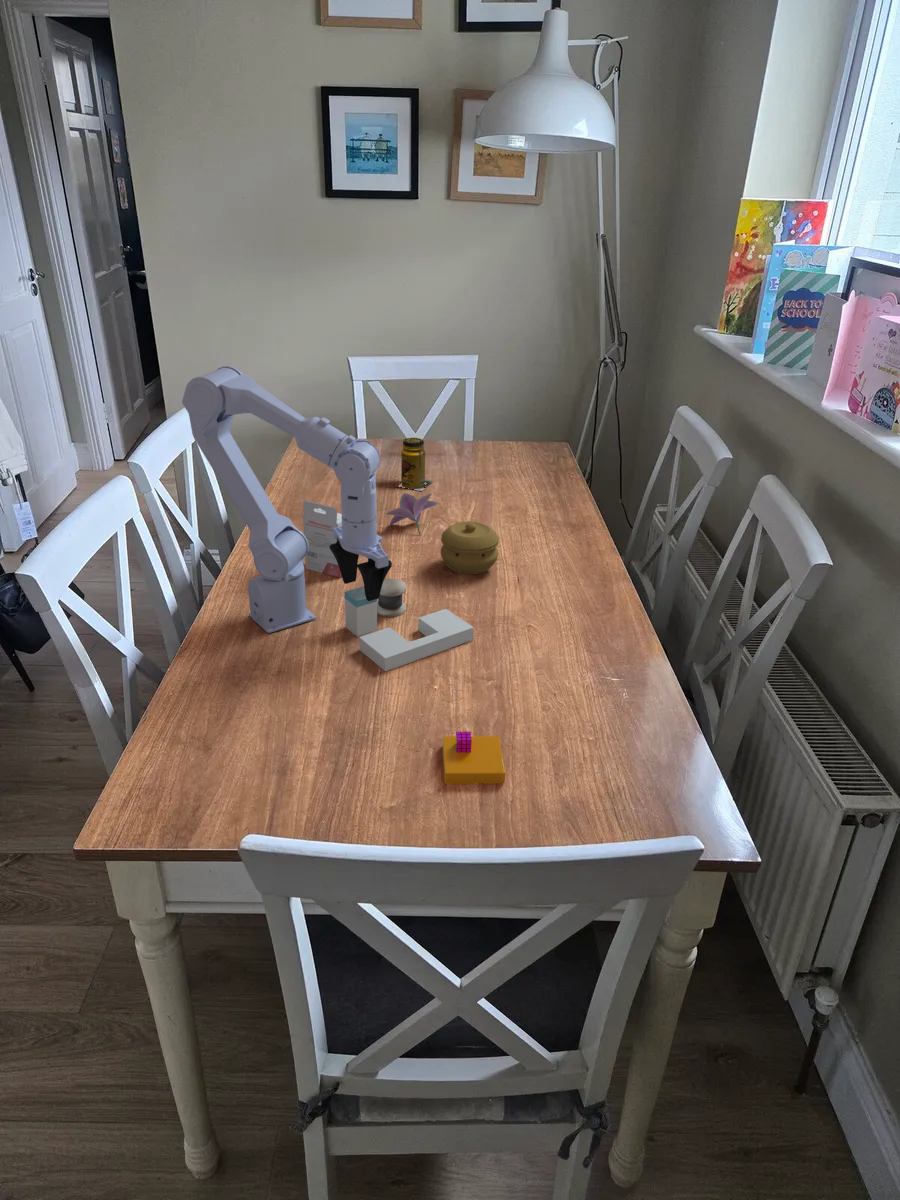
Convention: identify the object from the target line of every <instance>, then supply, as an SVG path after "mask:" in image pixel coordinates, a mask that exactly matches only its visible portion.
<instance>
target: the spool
mask: <svg viewBox="0 0 900 1200" xmlns="http://www.w3.org/2000/svg"><path fill="white" fill-rule="evenodd" d="M406 587H407V585H406V583H405V582H404V581H403V580H402V579H398V578H385V579H384V581H383V584H382V588H381V592H380V595H379V598H378V599H377V615H379V616H381V617H384V618H385V617H386V618H394V617H395V618H396V617H399V616H402V615H403V614H405V612H406V610H407V608H406V603H405V602H404V601H403V594H404V593H405V592H406Z"/></svg>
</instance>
